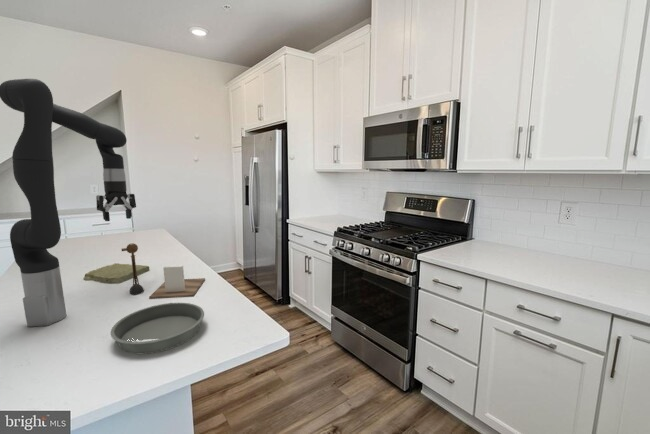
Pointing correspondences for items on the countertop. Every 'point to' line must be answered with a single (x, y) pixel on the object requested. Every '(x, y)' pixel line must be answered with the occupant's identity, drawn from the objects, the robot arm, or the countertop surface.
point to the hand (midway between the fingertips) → (118, 219)
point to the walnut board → (190, 290)
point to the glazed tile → (174, 278)
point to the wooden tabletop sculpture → (134, 270)
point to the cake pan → (158, 327)
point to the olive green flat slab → (115, 273)
